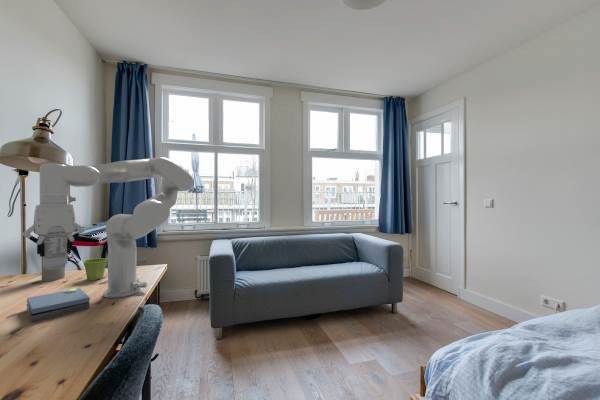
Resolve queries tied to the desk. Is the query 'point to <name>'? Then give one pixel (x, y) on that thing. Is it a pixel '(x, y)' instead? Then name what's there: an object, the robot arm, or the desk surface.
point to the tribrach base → (56, 311)
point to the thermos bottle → (52, 273)
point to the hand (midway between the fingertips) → (55, 253)
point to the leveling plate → (57, 300)
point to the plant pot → (95, 268)
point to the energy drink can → (55, 248)
